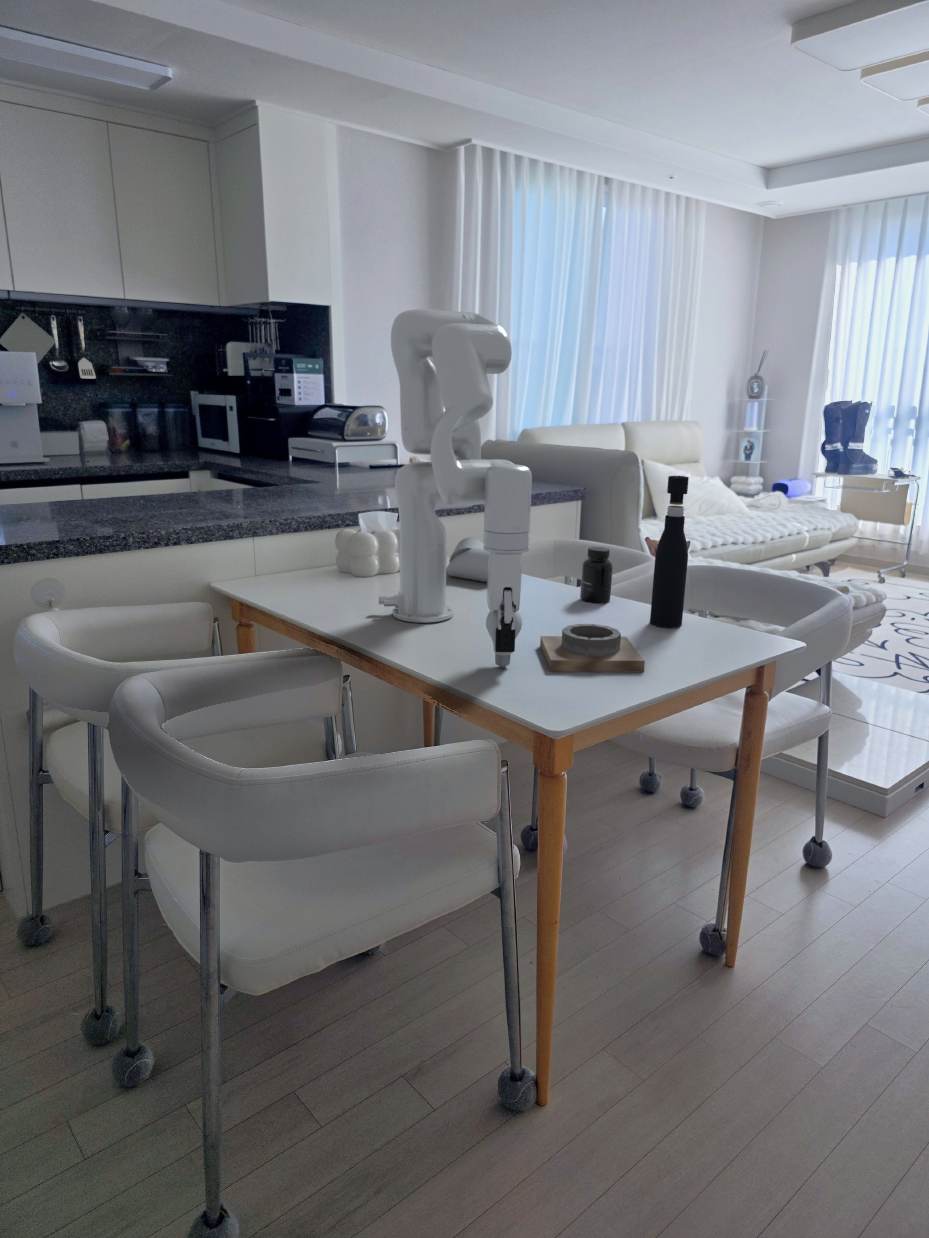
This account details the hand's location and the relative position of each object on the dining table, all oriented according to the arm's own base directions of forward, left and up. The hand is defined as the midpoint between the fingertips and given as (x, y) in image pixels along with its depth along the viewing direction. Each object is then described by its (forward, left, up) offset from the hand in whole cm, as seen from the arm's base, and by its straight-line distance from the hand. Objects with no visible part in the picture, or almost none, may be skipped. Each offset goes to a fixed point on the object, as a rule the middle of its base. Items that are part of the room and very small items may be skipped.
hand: (503, 644), depth 140 cm
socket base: (+16, +5, -4) cm, 17 cm away
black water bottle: (+36, +28, -4) cm, 46 cm away
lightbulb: (0, 0, -4) cm, 4 cm away
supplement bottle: (+25, +47, -4) cm, 53 cm away
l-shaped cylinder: (-1, +72, -4) cm, 72 cm away
